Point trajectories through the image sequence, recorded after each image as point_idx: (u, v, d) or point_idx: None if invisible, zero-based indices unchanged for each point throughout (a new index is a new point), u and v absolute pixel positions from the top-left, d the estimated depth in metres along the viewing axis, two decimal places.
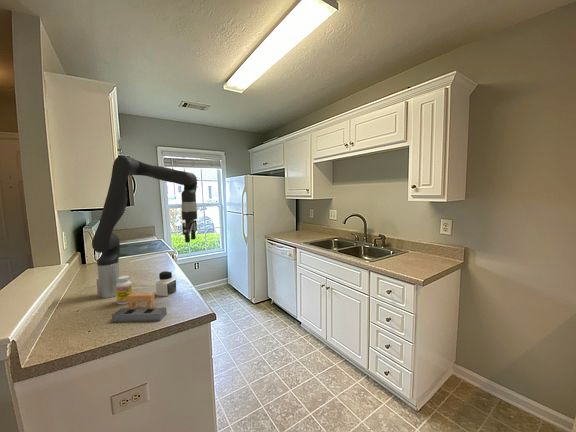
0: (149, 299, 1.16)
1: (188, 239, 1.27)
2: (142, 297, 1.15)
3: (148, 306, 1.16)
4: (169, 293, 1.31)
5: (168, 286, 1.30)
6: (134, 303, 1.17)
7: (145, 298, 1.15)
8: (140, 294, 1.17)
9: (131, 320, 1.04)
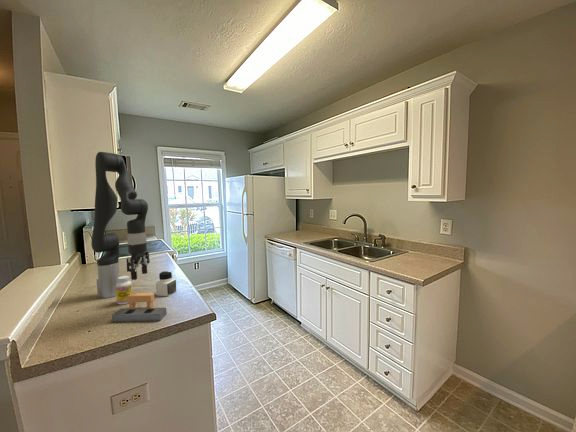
0: (149, 299, 1.16)
1: (135, 276, 1.11)
2: (142, 297, 1.15)
3: (148, 306, 1.16)
4: (169, 293, 1.31)
5: (168, 286, 1.30)
6: (134, 303, 1.17)
7: (145, 298, 1.15)
8: (140, 294, 1.17)
9: (131, 320, 1.04)
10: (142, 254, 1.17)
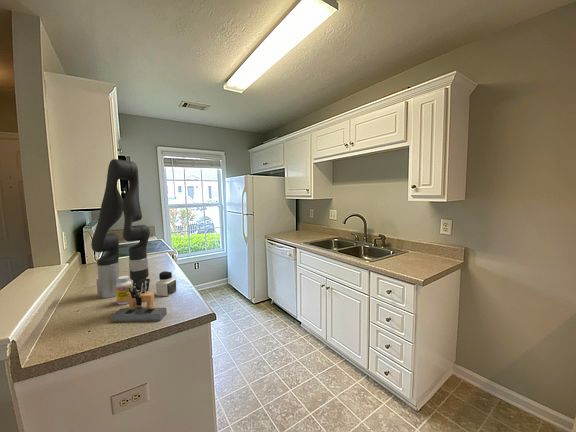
0: (149, 299, 1.16)
1: (139, 302, 1.15)
2: (142, 297, 1.15)
3: (148, 306, 1.16)
4: (169, 293, 1.31)
5: (168, 286, 1.30)
6: (134, 303, 1.17)
7: (145, 298, 1.15)
8: None
9: (131, 320, 1.04)
10: (143, 279, 1.18)
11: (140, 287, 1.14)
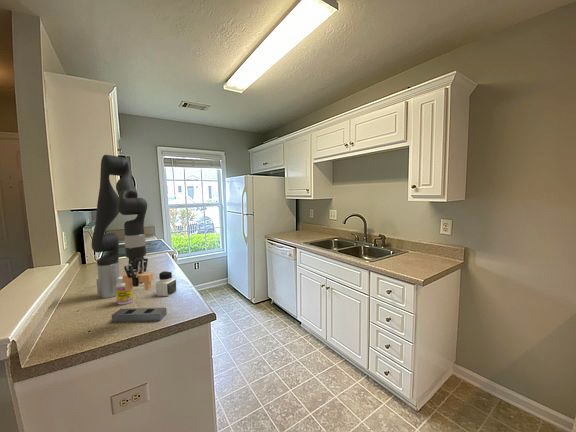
0: (147, 279, 1.05)
1: (136, 282, 1.04)
2: (140, 277, 1.05)
3: (146, 287, 1.05)
4: (169, 293, 1.31)
5: (168, 286, 1.30)
6: (130, 284, 1.06)
7: (142, 278, 1.05)
8: None
9: (131, 320, 1.04)
10: (141, 258, 1.07)
11: (137, 266, 1.03)
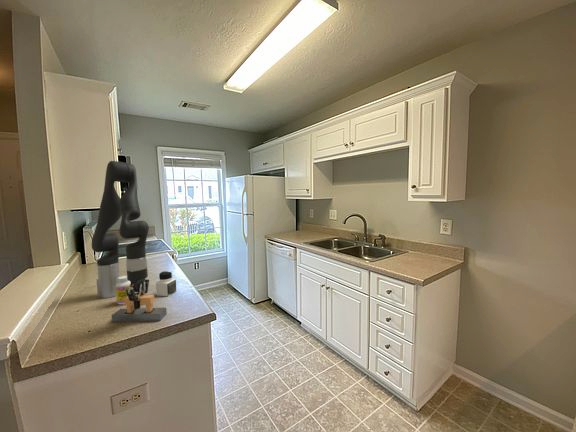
0: (148, 302, 1.05)
1: (138, 305, 1.05)
2: (141, 299, 1.05)
3: (147, 309, 1.06)
4: (169, 293, 1.31)
5: (168, 286, 1.30)
6: (132, 306, 1.07)
7: (144, 301, 1.05)
8: None
9: (131, 320, 1.04)
10: (142, 280, 1.08)
11: (138, 289, 1.04)
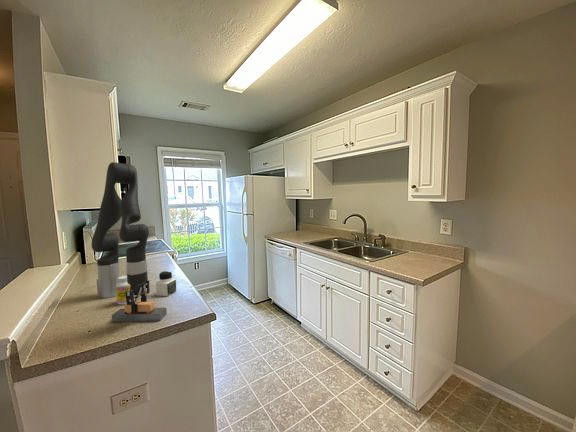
0: (148, 308, 1.06)
1: (135, 309, 1.03)
2: (141, 306, 1.06)
3: None
4: (169, 293, 1.31)
5: (168, 286, 1.30)
6: None
7: (144, 307, 1.06)
8: (139, 303, 1.07)
9: (131, 320, 1.04)
10: (142, 283, 1.08)
11: (138, 292, 1.04)
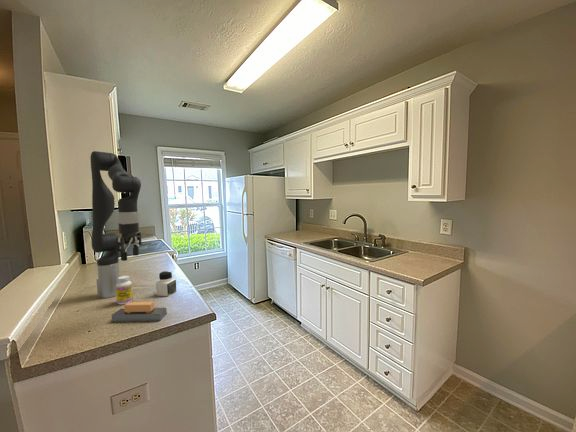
0: (148, 309, 1.06)
1: (124, 257, 1.06)
2: (141, 306, 1.05)
3: None
4: (169, 293, 1.31)
5: (168, 286, 1.30)
6: None
7: (144, 308, 1.06)
8: (139, 303, 1.07)
9: (131, 320, 1.04)
10: (133, 235, 1.11)
11: (128, 241, 1.07)
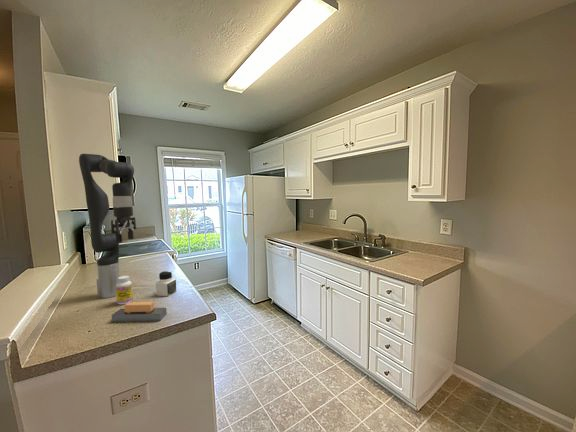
0: (148, 309, 1.06)
1: (120, 239, 1.11)
2: (141, 306, 1.05)
3: None
4: (169, 293, 1.31)
5: (168, 286, 1.30)
6: None
7: (144, 308, 1.06)
8: (139, 303, 1.07)
9: (131, 320, 1.04)
10: (128, 218, 1.16)
11: (123, 224, 1.12)
